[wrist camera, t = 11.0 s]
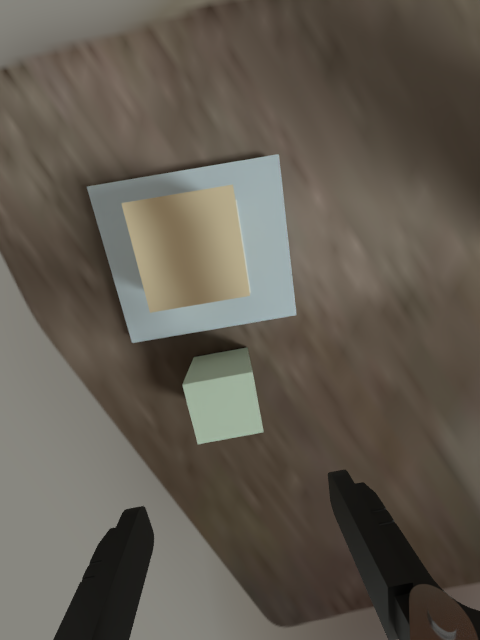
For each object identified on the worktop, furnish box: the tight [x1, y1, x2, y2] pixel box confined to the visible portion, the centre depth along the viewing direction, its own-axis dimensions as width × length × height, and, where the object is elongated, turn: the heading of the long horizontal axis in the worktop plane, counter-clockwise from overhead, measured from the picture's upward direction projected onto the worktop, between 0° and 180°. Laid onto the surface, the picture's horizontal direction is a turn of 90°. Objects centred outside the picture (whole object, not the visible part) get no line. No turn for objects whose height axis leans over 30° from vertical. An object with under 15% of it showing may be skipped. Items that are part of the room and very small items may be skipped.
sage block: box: [182, 348, 263, 444], centre depth 19 cm, size 5×5×5 cm
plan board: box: [87, 154, 296, 343], centre depth 18 cm, size 14×12×1 cm
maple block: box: [121, 185, 250, 313], centre depth 15 cm, size 6×6×5 cm
